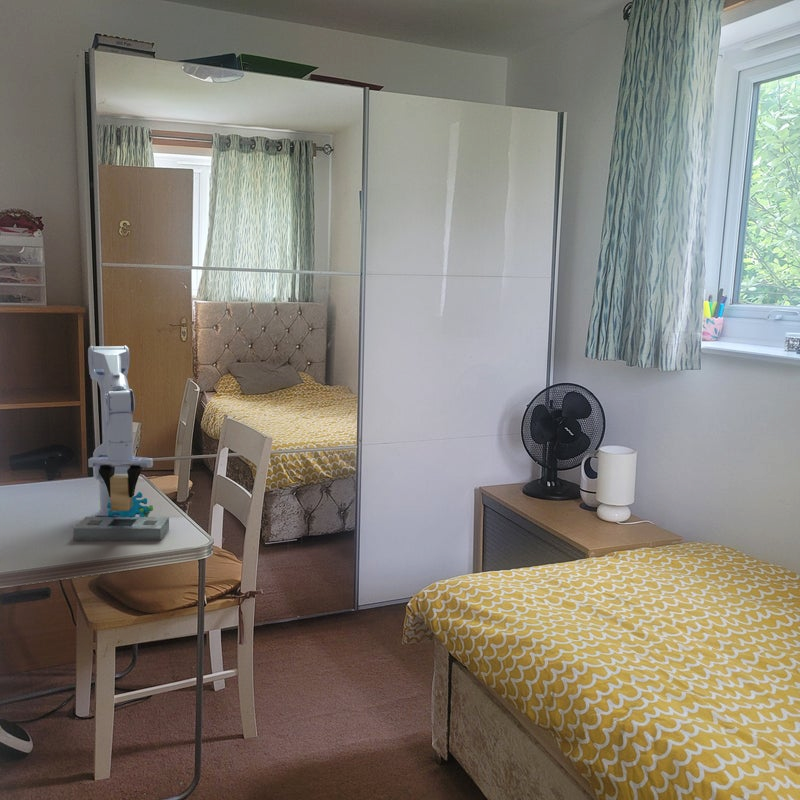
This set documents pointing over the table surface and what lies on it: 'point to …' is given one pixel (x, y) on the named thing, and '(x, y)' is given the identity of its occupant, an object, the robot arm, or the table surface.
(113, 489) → the peg
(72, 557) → the table surface
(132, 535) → the grey holed base
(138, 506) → the gear
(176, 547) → the table surface
